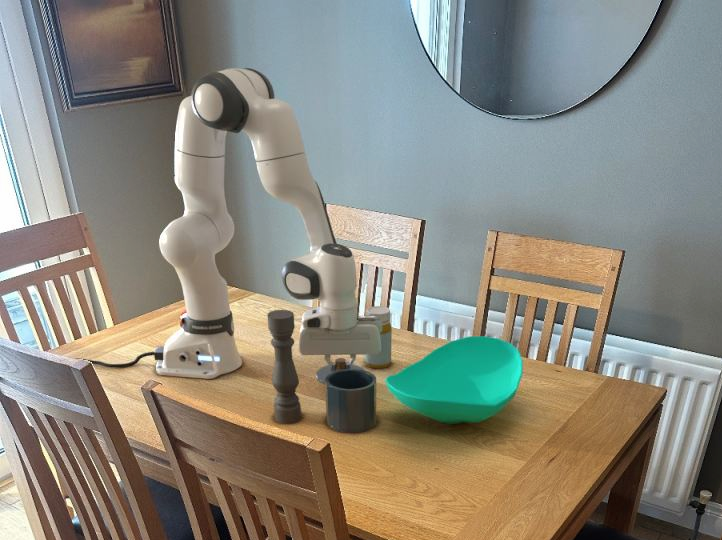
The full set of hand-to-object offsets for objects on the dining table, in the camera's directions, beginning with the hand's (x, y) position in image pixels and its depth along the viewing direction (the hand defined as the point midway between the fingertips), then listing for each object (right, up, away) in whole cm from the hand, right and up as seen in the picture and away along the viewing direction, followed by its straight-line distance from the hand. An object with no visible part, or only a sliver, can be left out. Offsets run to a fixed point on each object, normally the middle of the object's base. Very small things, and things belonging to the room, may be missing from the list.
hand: (340, 370), depth 182 cm
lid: (0, -1, +1) cm, 2 cm away
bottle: (+9, +5, +16) cm, 20 cm away
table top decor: (+27, -13, -8) cm, 31 cm away
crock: (+3, -14, -11) cm, 18 cm away
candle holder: (-12, -13, -10) cm, 20 cm away
